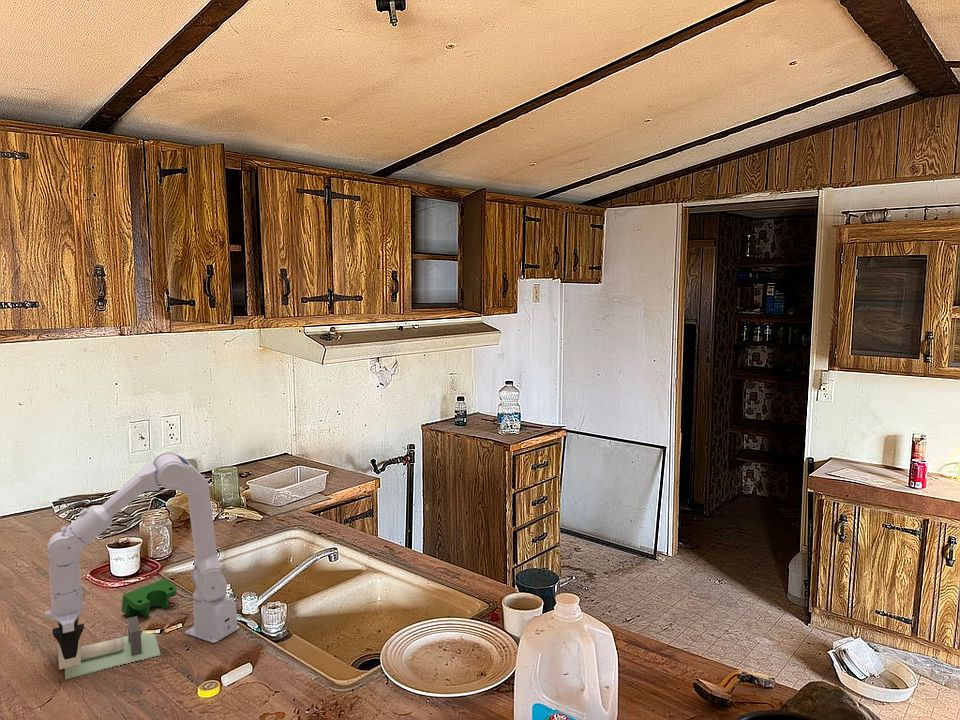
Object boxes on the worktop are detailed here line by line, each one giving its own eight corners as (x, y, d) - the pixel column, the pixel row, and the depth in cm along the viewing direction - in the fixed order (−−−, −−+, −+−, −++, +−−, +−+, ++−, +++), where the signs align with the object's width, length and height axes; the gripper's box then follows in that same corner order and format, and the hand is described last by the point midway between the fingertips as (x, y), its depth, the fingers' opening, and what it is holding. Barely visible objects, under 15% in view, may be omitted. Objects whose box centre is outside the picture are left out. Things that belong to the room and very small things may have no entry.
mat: (153, 631, 161) (153, 630, 161) (160, 655, 151) (160, 654, 151) (64, 652, 151) (64, 650, 151) (65, 679, 141) (65, 677, 141)
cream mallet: (123, 645, 154) (122, 624, 153) (125, 653, 150) (124, 632, 150) (58, 660, 147) (57, 638, 147) (59, 669, 144) (57, 647, 143)
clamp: (141, 635, 168) (130, 611, 162) (127, 622, 170) (116, 599, 165) (183, 601, 176) (174, 577, 171) (169, 589, 179) (160, 566, 174)
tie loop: (138, 638, 157) (137, 616, 156) (141, 653, 151) (140, 630, 150) (128, 640, 156) (127, 618, 155) (131, 656, 150) (130, 632, 149)
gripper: (44, 579, 149) (47, 638, 150) (43, 607, 136) (47, 671, 138) (81, 572, 152) (84, 630, 154) (84, 599, 140) (87, 661, 142)
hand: (69, 649), depth 146 cm, fingers open, 7 cm apart
